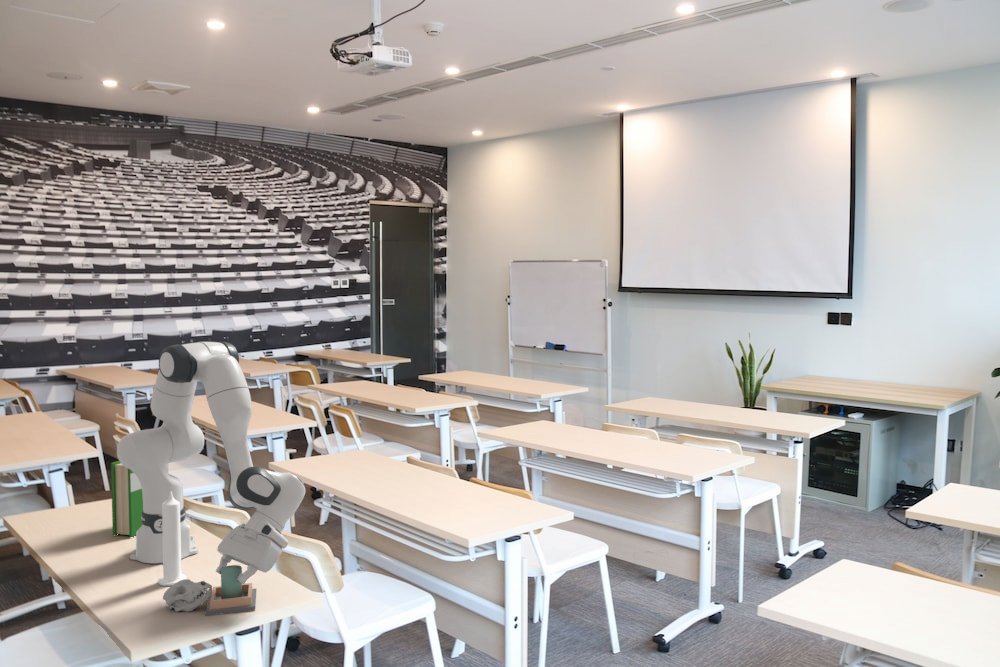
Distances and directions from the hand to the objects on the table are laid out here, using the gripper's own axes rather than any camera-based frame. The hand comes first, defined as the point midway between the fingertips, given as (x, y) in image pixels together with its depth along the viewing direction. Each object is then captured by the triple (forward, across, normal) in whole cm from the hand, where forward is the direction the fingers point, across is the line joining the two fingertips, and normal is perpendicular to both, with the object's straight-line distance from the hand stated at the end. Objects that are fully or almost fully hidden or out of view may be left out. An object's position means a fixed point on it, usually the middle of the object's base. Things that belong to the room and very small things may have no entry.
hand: (229, 577), depth 189 cm
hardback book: (-6, -78, +16) cm, 79 cm away
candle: (+6, -26, +4) cm, 27 cm away
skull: (+11, -6, -1) cm, 12 cm away
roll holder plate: (+4, 0, +5) cm, 7 cm away
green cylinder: (+4, 0, +5) cm, 6 cm away
